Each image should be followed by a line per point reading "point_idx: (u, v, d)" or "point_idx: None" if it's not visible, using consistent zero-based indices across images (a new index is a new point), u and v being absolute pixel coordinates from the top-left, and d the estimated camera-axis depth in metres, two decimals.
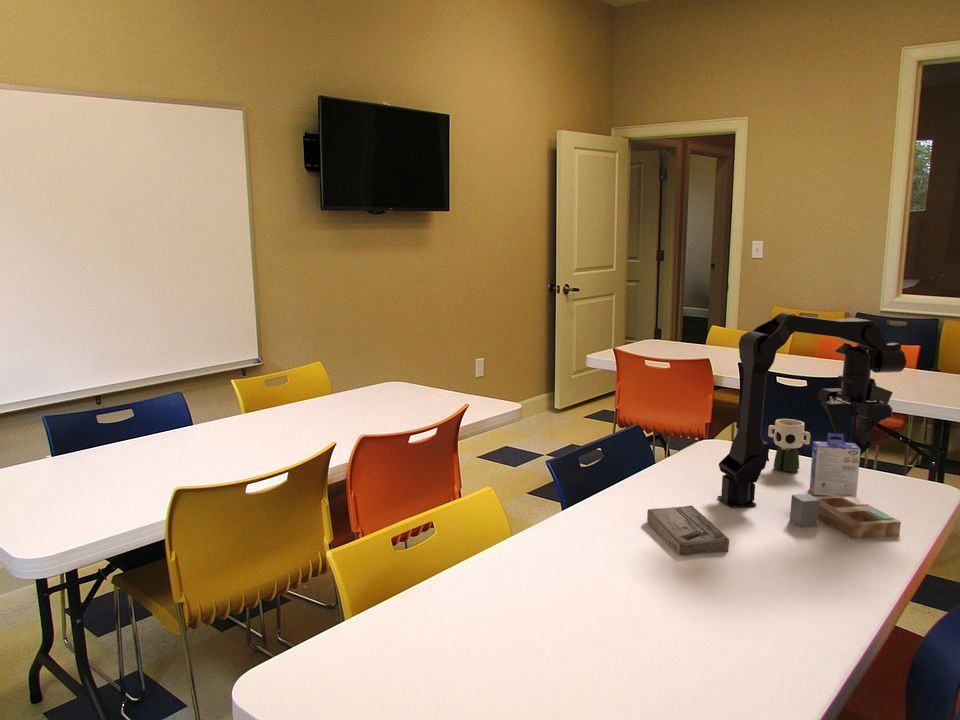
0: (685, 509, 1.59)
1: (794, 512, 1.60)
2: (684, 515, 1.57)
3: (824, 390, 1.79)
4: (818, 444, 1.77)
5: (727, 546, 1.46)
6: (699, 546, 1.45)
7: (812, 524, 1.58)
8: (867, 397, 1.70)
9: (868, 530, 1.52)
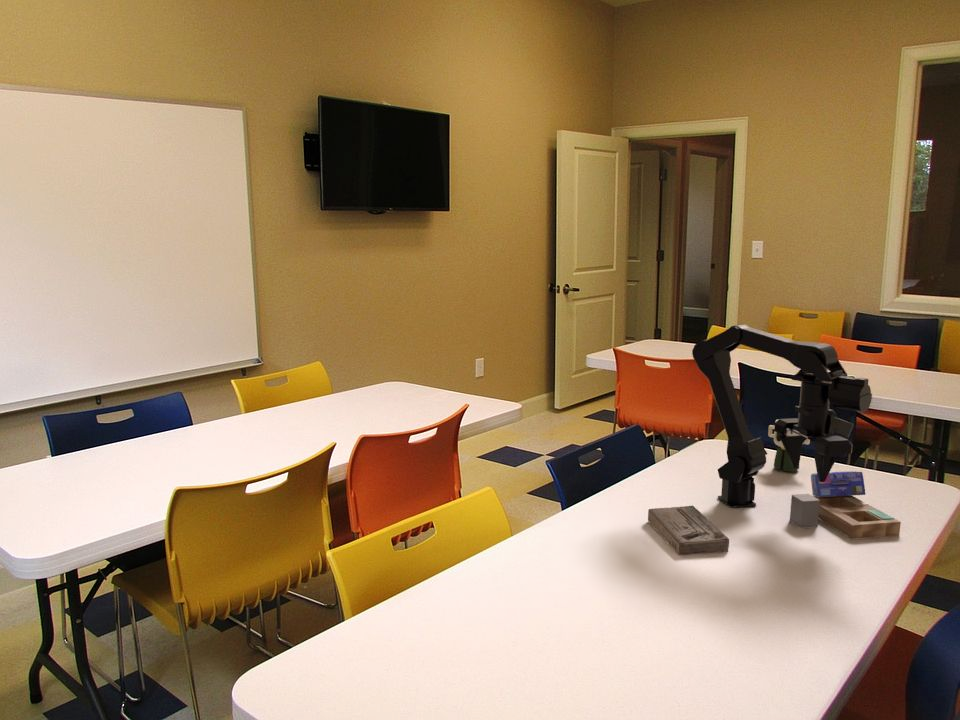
0: (685, 509, 1.60)
1: (794, 512, 1.60)
2: (685, 515, 1.57)
3: (781, 421, 1.63)
4: (820, 488, 1.66)
5: (727, 546, 1.46)
6: (699, 546, 1.45)
7: (812, 524, 1.58)
8: (826, 430, 1.54)
9: (868, 530, 1.52)
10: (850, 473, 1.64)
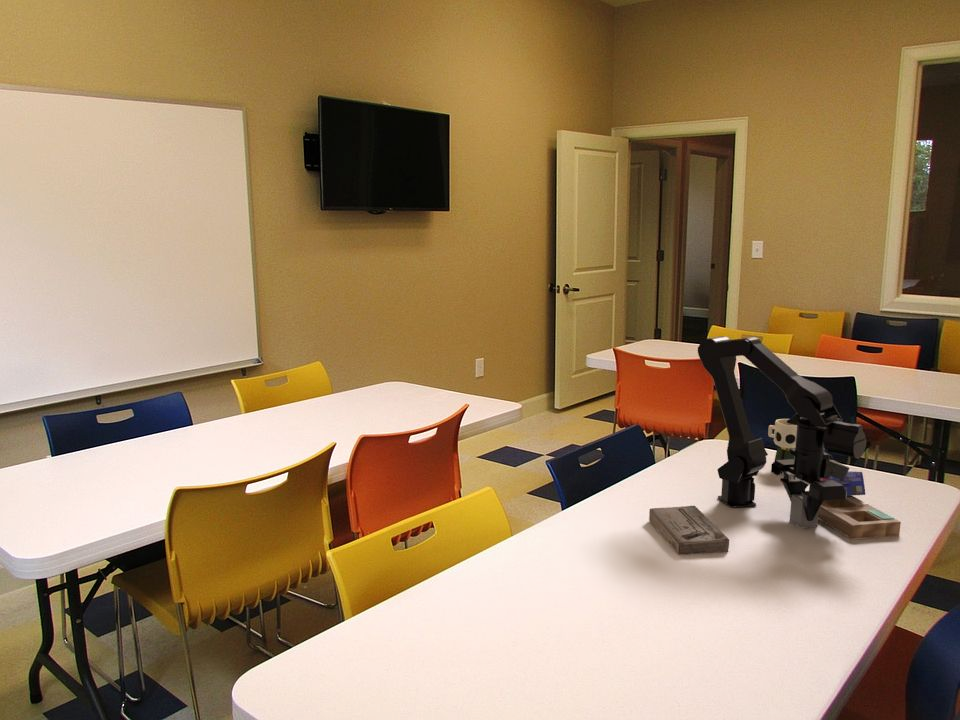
0: (687, 509, 1.60)
1: (794, 512, 1.60)
2: (686, 515, 1.57)
3: (777, 462, 1.65)
4: None
5: (727, 546, 1.46)
6: (698, 546, 1.45)
7: (812, 524, 1.58)
8: (821, 474, 1.56)
9: (868, 530, 1.52)
10: (850, 473, 1.64)
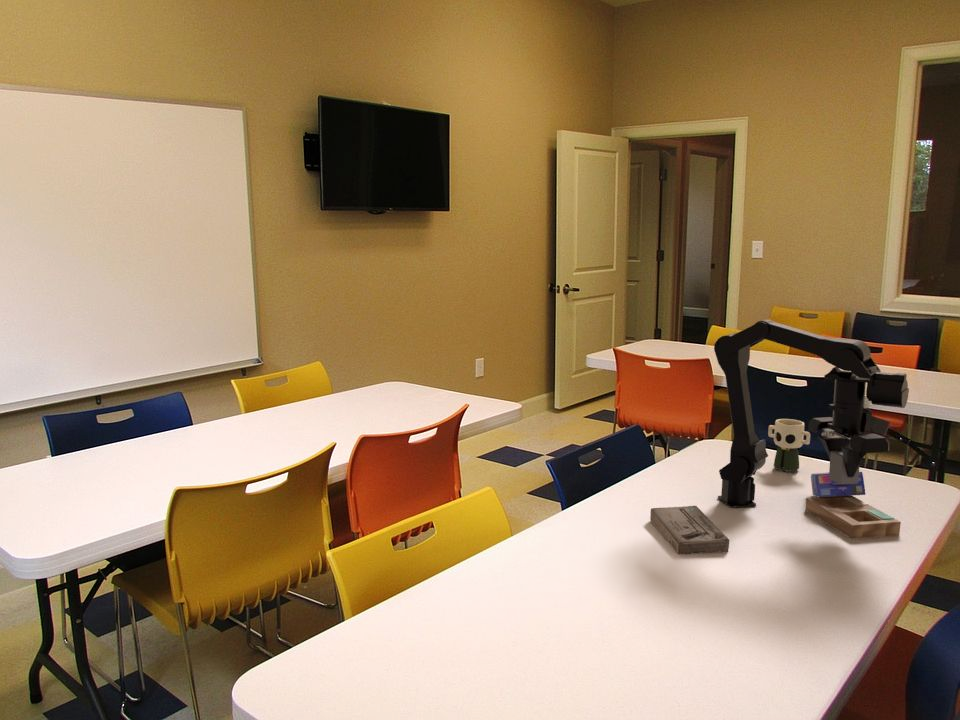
0: (688, 509, 1.60)
1: (833, 469, 1.56)
2: (687, 515, 1.57)
3: (814, 420, 1.61)
4: (820, 488, 1.66)
5: (727, 547, 1.45)
6: (698, 546, 1.45)
7: (852, 480, 1.54)
8: (861, 428, 1.52)
9: (868, 530, 1.52)
10: None
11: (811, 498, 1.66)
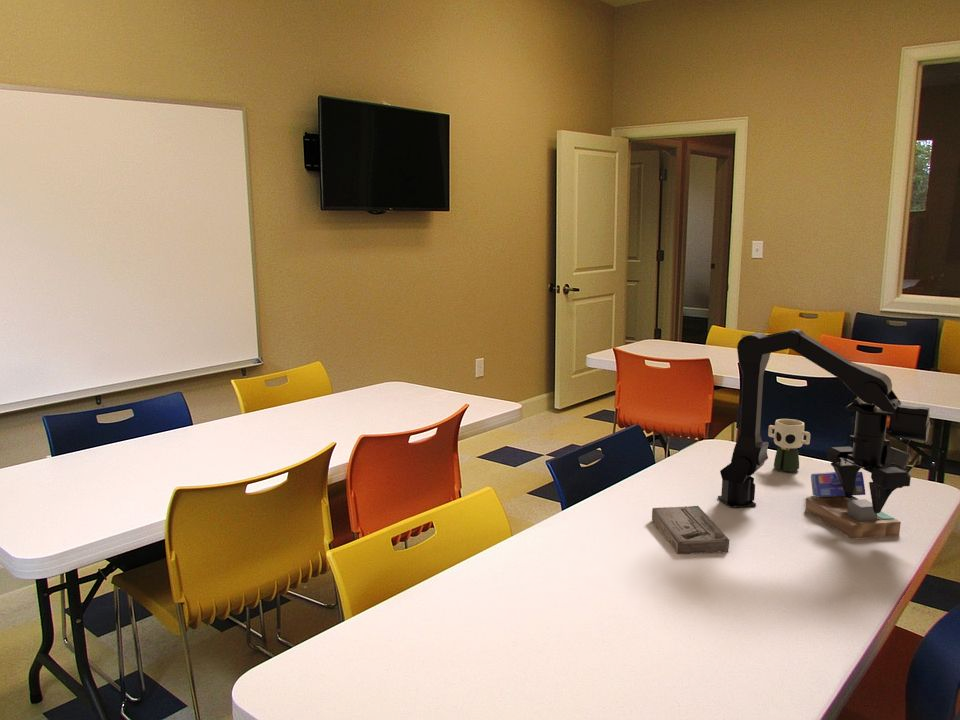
0: (690, 509, 1.60)
1: None
2: (688, 515, 1.57)
3: (833, 449, 1.61)
4: (820, 488, 1.66)
5: (727, 547, 1.45)
6: (698, 546, 1.45)
7: None
8: (882, 461, 1.52)
9: (868, 530, 1.52)
10: None
11: (811, 498, 1.66)
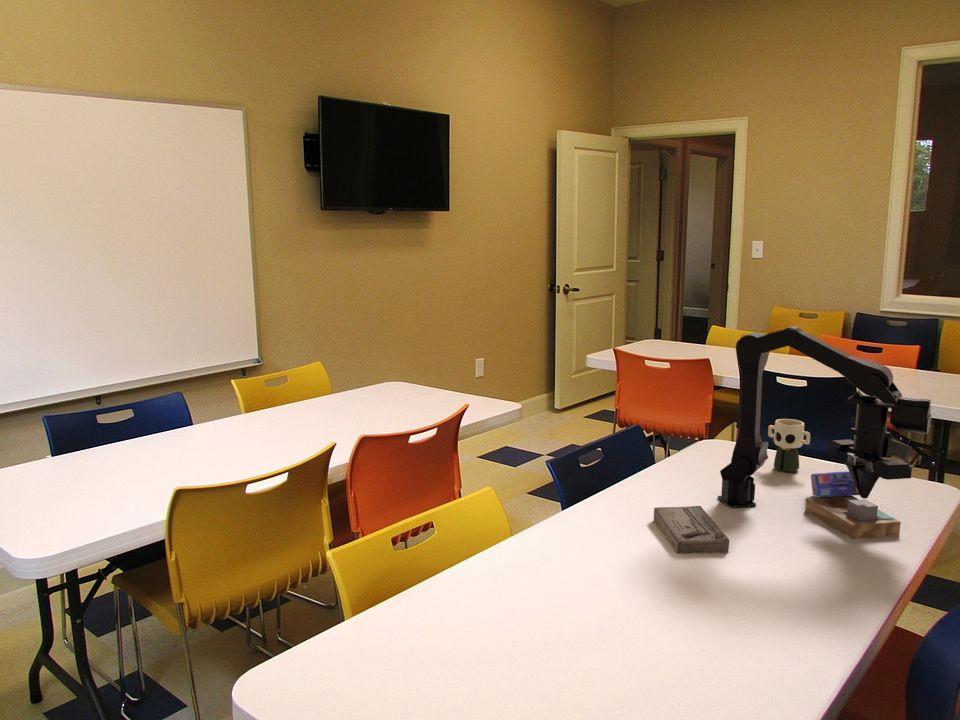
0: (692, 509, 1.60)
1: None
2: (689, 515, 1.57)
3: (834, 442, 1.61)
4: (820, 488, 1.66)
5: (727, 547, 1.45)
6: (697, 546, 1.45)
7: None
8: (883, 453, 1.51)
9: (868, 530, 1.52)
10: None
11: (811, 498, 1.66)
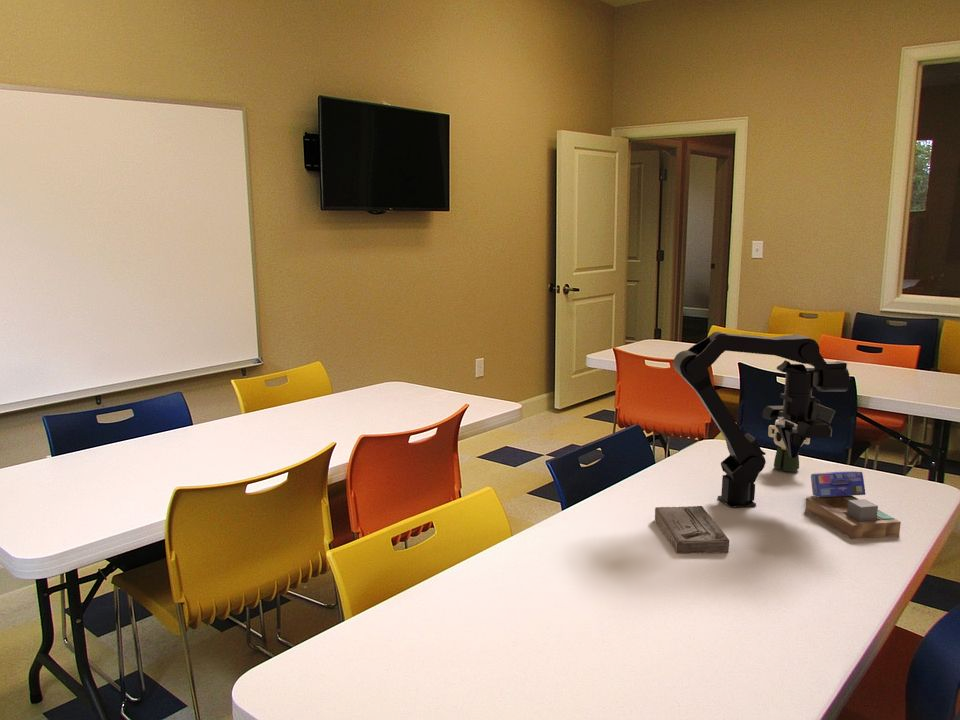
0: (693, 509, 1.60)
1: None
2: (690, 515, 1.57)
3: (768, 408, 1.75)
4: (820, 488, 1.66)
5: (727, 547, 1.45)
6: (697, 546, 1.45)
7: None
8: (809, 416, 1.66)
9: (868, 530, 1.52)
10: (850, 473, 1.64)
11: (811, 498, 1.66)
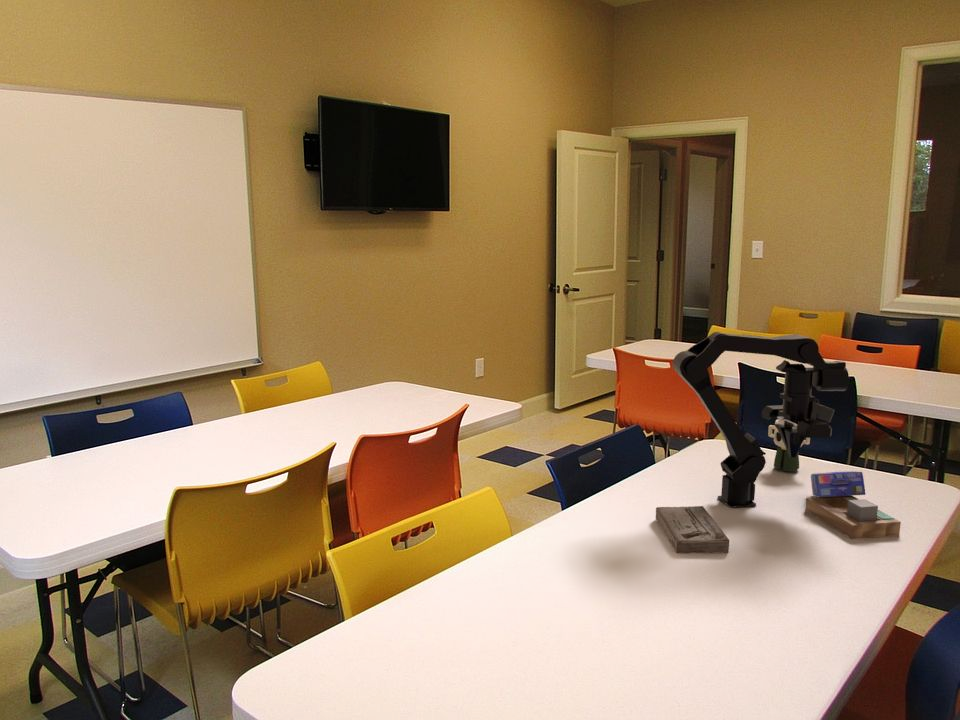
0: (694, 509, 1.60)
1: None
2: (691, 515, 1.57)
3: (767, 407, 1.76)
4: (820, 488, 1.66)
5: (727, 547, 1.45)
6: (697, 545, 1.45)
7: None
8: (808, 415, 1.66)
9: (868, 530, 1.52)
10: (850, 473, 1.64)
11: (811, 498, 1.66)
